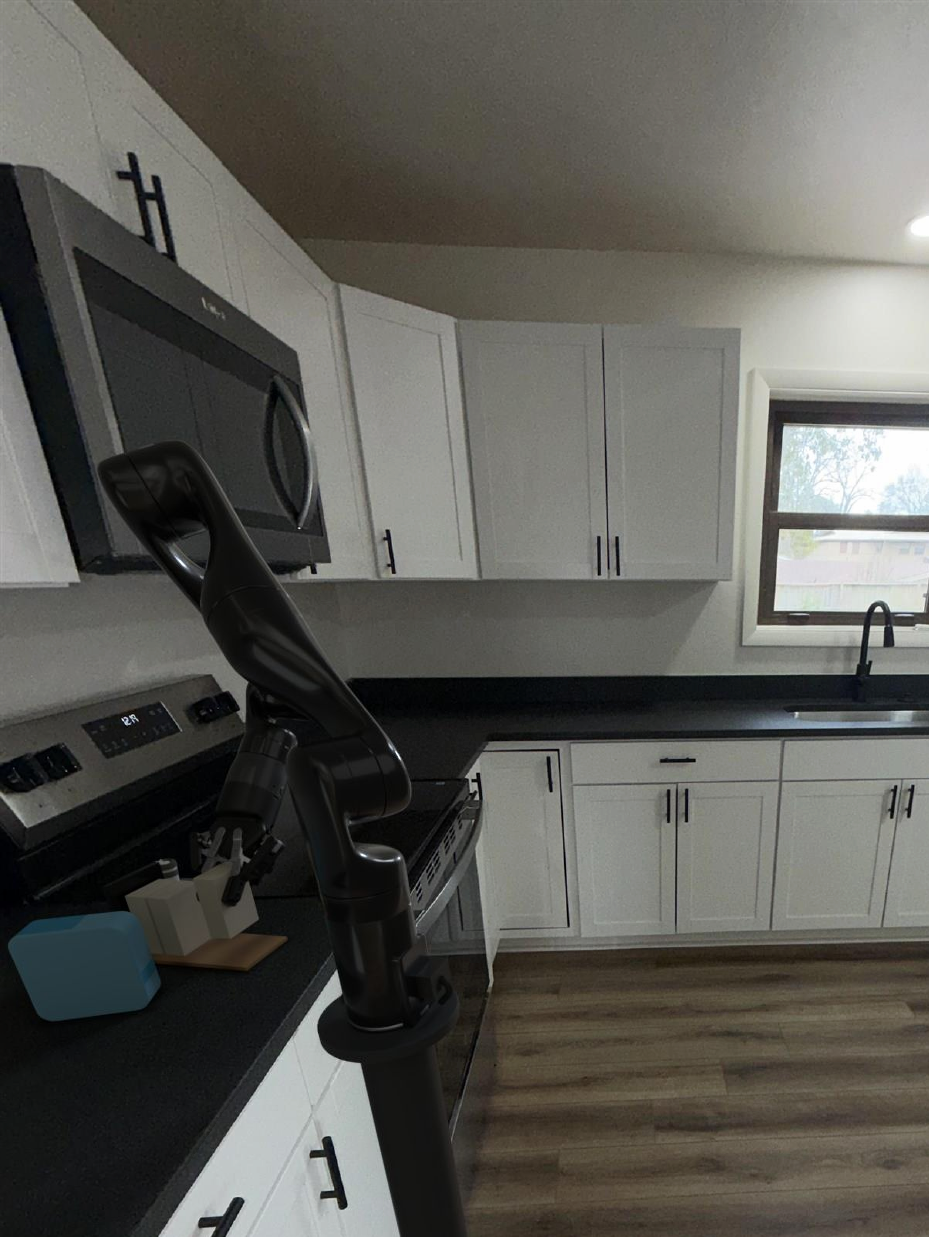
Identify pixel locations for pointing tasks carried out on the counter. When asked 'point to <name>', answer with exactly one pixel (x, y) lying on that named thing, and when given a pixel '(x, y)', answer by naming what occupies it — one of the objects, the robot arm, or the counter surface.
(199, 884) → the beige block
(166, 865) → the coffee cup
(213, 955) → the rack
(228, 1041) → the counter surface
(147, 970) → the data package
